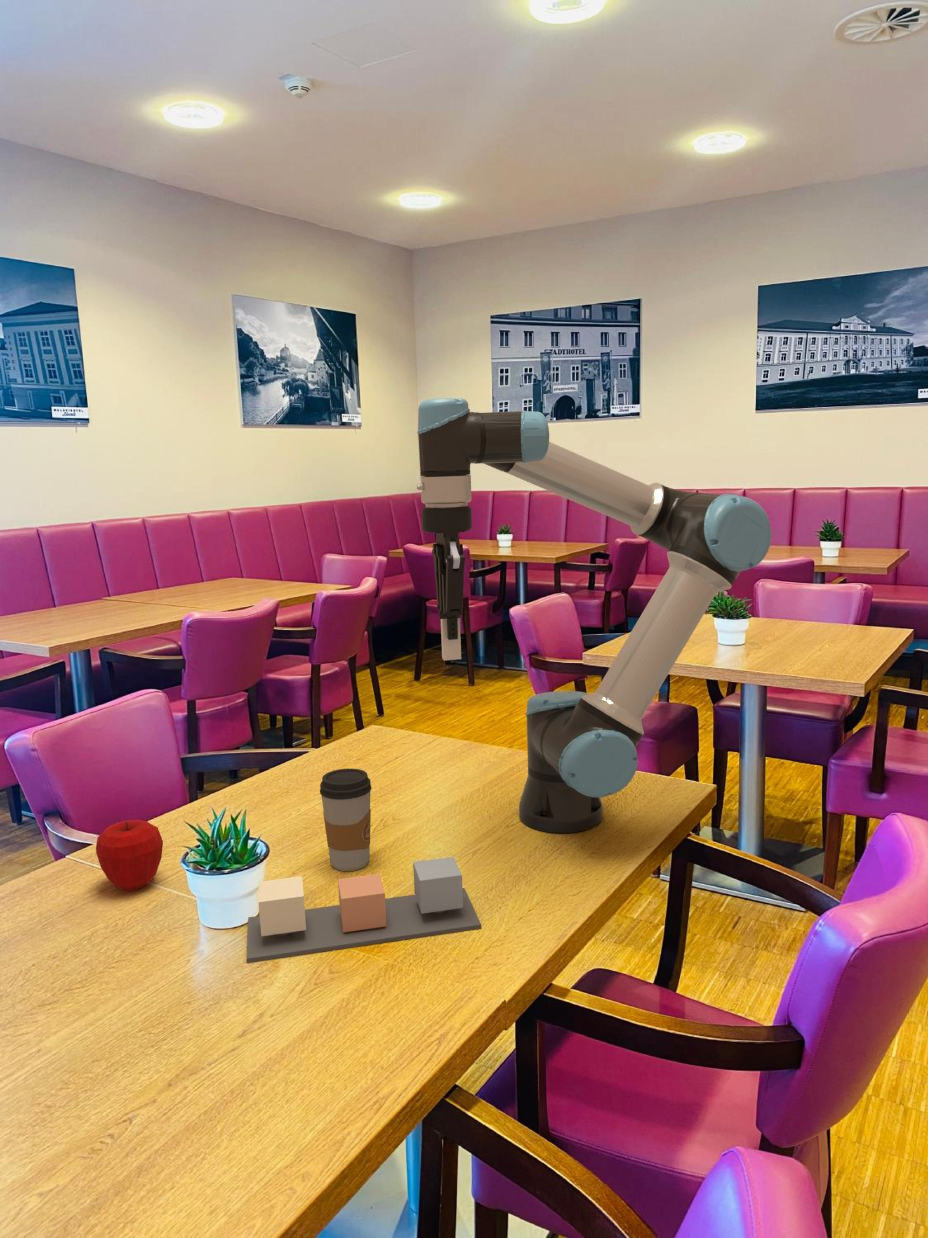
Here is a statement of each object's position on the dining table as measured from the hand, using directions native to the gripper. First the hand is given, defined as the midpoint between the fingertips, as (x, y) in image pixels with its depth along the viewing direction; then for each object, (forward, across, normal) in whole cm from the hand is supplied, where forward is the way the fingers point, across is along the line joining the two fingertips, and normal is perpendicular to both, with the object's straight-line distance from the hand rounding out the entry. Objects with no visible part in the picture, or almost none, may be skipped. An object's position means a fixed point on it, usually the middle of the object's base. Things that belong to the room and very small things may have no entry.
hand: (451, 658), depth 136 cm
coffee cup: (+35, -6, -17) cm, 39 cm away
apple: (+35, -8, -51) cm, 62 cm away
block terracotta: (+34, +14, -17) cm, 40 cm away
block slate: (+32, +14, -6) cm, 36 cm away
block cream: (+32, +14, -28) cm, 45 cm away
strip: (+34, +14, -17) cm, 41 cm away
